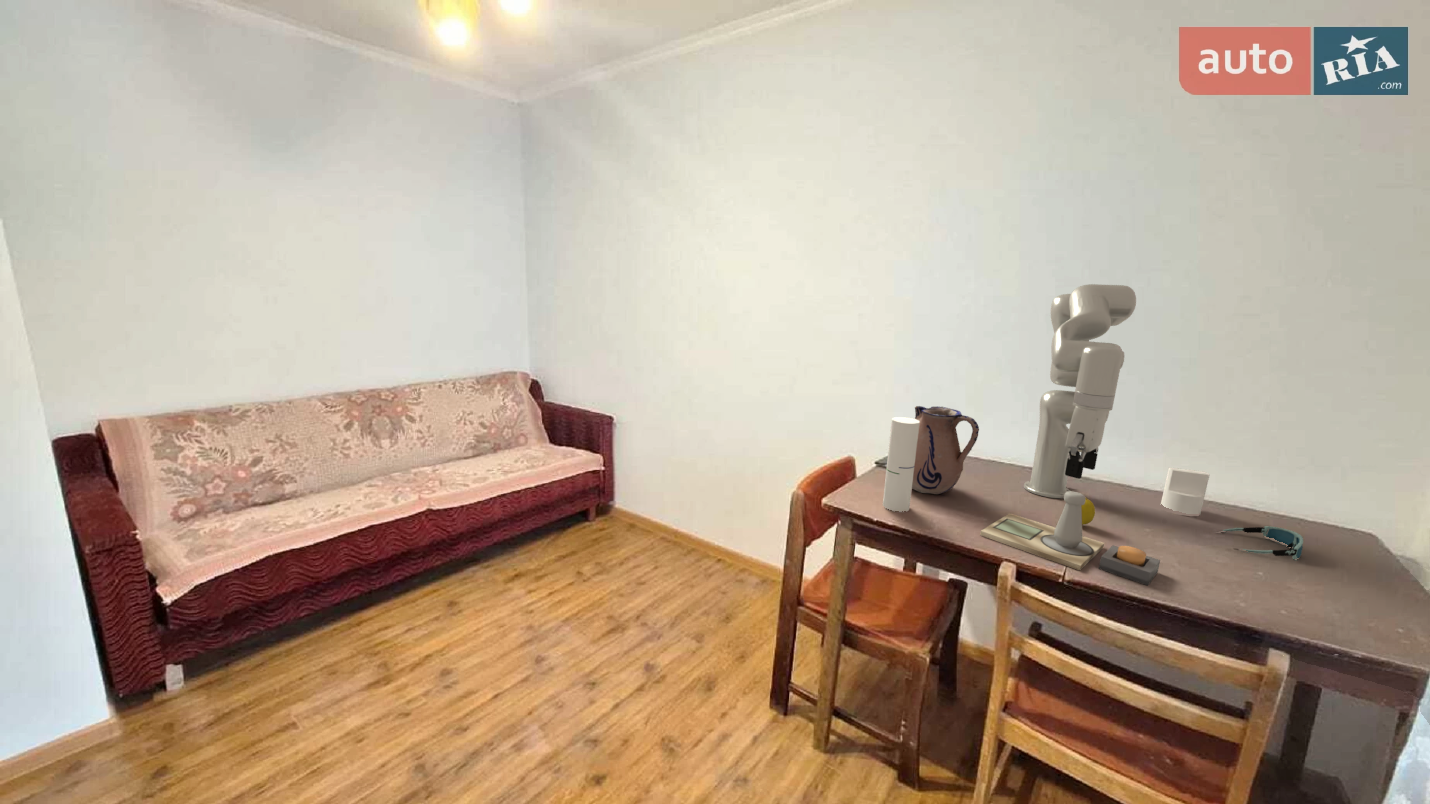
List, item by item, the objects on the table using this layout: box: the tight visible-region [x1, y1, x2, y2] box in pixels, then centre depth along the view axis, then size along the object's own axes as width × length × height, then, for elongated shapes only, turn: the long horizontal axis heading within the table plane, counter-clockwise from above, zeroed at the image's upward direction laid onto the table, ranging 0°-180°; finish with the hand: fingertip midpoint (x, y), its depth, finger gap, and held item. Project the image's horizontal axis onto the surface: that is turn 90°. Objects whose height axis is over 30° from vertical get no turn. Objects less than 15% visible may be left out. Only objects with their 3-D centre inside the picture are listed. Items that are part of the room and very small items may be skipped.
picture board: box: [979, 512, 1105, 571], centre depth 139 cm, size 18×22×1 cm
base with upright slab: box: [1160, 467, 1210, 514], centre depth 161 cm, size 9×9×12 cm
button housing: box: [1098, 544, 1161, 586], centre depth 125 cm, size 9×9×3 cm
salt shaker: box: [1054, 490, 1086, 548], centre depth 133 cm, size 6×6×13 cm
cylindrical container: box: [882, 416, 920, 513], centre depth 154 cm, size 7×7×25 cm
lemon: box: [1081, 496, 1096, 526], centre depth 148 cm, size 6×6×8 cm
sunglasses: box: [1222, 525, 1304, 560], centre depth 141 cm, size 14×15×5 cm
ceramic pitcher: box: [912, 405, 980, 495], centre depth 168 cm, size 18×21×25 cm
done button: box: [1117, 545, 1147, 567], centre depth 125 cm, size 5×5×2 cm
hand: (1079, 472), depth 131 cm, fingers open, 9 cm apart
